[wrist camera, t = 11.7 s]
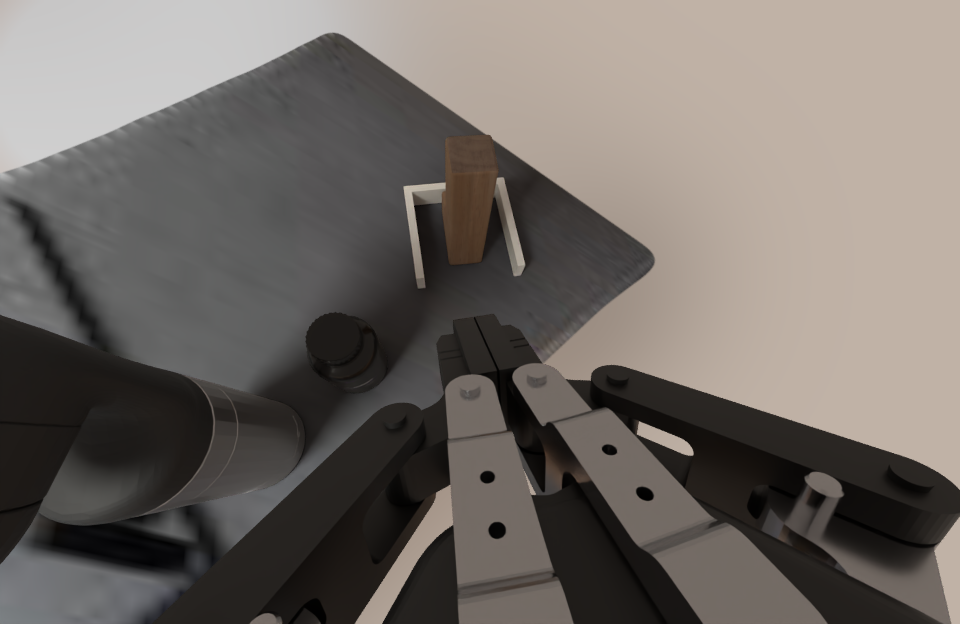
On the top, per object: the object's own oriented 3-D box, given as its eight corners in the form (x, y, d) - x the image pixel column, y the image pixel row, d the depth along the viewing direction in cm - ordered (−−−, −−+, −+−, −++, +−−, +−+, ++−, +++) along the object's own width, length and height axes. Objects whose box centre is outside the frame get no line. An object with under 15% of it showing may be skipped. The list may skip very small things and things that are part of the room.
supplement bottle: (363, 406, 43) (334, 390, 31) (318, 372, 43) (273, 345, 32) (401, 358, 45) (386, 328, 34) (357, 327, 46) (328, 288, 35)
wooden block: (441, 210, 53) (439, 99, 36) (472, 208, 53) (484, 97, 37) (449, 266, 50) (450, 173, 33) (482, 263, 50) (499, 170, 34)
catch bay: (417, 288, 48) (416, 278, 45) (405, 200, 53) (403, 186, 50) (520, 275, 50) (525, 265, 47) (500, 191, 55) (503, 177, 52)
